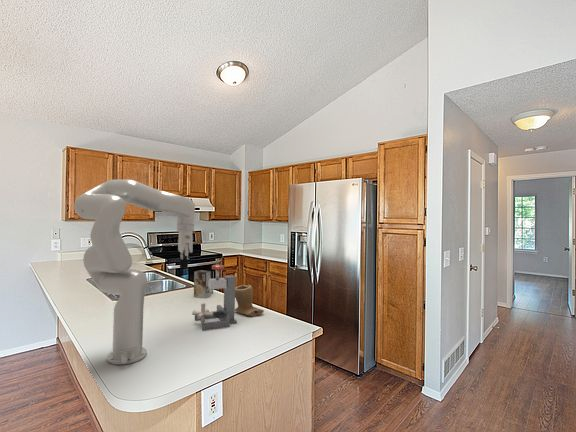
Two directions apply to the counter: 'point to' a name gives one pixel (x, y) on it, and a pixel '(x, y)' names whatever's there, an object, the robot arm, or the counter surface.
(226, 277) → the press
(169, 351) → the counter surface
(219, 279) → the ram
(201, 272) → the coffee box
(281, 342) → the counter surface
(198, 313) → the pipe connector
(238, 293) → the brown boot vase
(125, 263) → the robot arm
